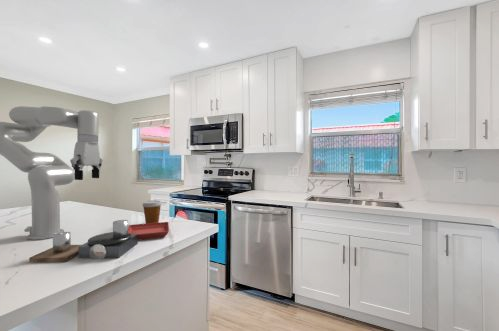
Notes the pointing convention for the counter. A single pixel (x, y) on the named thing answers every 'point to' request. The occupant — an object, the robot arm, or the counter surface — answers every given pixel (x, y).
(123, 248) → the scale
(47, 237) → the robot arm
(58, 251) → the cylinder
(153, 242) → the counter surface
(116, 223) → the cylinder
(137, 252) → the counter surface
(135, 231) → the plant saucer
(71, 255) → the walnut board
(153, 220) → the disposable coffee cup
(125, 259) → the counter surface
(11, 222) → the counter surface
